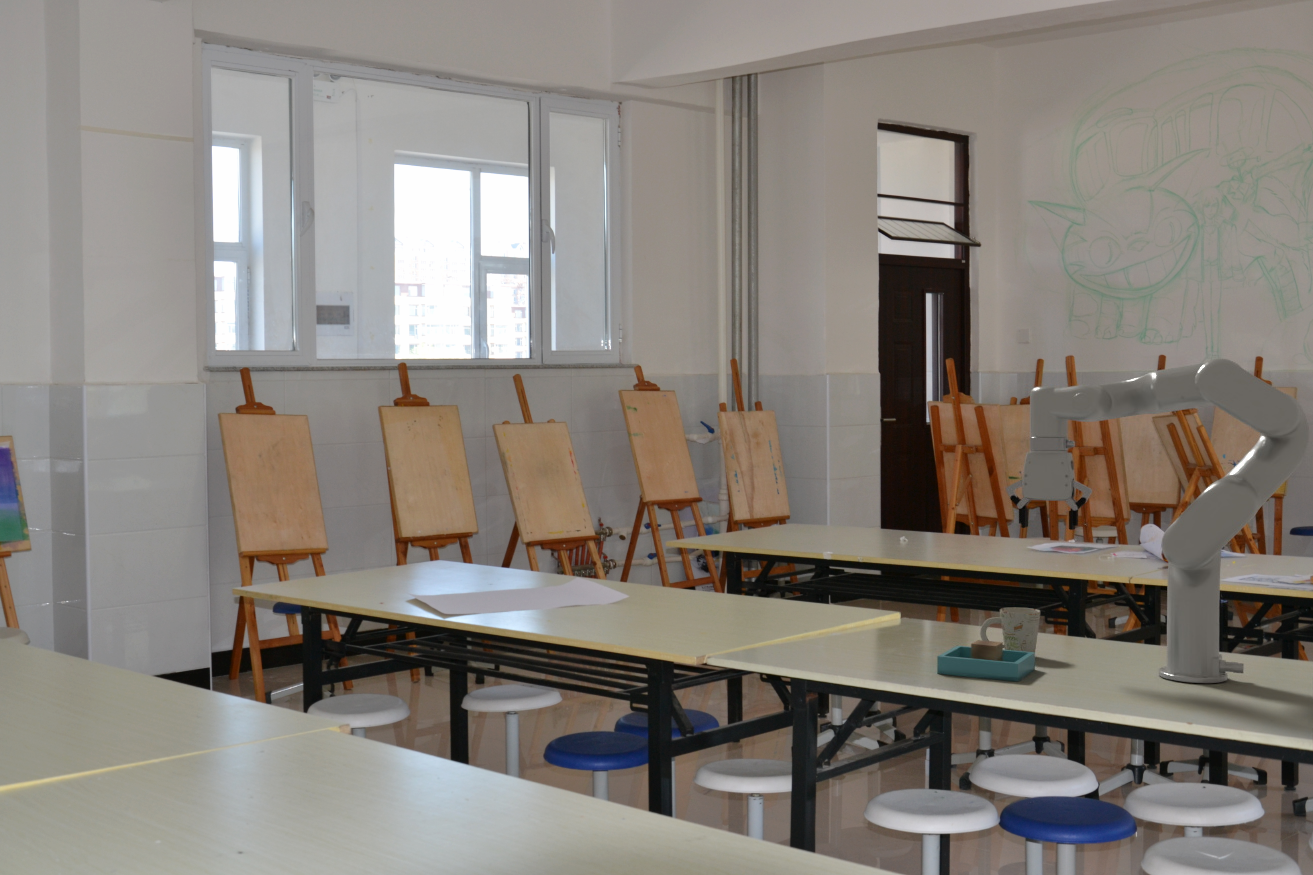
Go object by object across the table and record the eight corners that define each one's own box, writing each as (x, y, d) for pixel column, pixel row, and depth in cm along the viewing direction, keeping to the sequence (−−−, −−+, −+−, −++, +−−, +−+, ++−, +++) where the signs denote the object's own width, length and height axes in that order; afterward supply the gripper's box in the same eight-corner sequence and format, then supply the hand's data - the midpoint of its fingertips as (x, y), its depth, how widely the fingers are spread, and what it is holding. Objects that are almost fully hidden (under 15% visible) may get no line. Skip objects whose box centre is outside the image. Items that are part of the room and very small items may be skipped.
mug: (1044, 660, 270) (1045, 613, 270) (985, 660, 270) (985, 612, 270) (1034, 653, 279) (1034, 607, 278) (976, 652, 279) (976, 607, 279)
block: (1002, 666, 259) (1002, 642, 259) (995, 670, 254) (996, 645, 254) (978, 664, 261) (978, 639, 261) (971, 668, 257) (971, 643, 257)
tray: (1034, 669, 260) (1034, 652, 260) (1018, 681, 248) (1018, 663, 248) (957, 662, 268) (957, 645, 268) (937, 673, 256) (937, 656, 256)
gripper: (1095, 446, 264) (1094, 528, 264) (1011, 445, 273) (1010, 525, 273) (1088, 446, 258) (1087, 531, 258) (1002, 445, 266) (1001, 527, 266)
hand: (1048, 528), depth 265 cm, fingers open, 9 cm apart
